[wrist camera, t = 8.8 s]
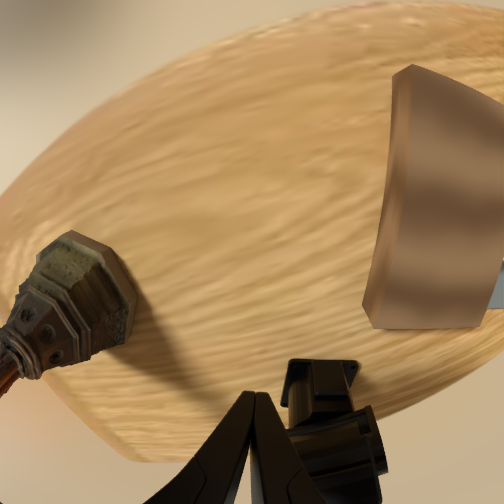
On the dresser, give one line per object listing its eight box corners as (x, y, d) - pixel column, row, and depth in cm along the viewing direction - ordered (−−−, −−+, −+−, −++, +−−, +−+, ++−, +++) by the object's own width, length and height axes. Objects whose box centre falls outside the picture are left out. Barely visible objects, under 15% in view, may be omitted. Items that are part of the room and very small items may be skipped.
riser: (461, 307, 21) (479, 326, 18) (361, 304, 22) (373, 328, 18) (495, 116, 15) (520, 115, 12) (392, 75, 16) (412, 63, 12)
